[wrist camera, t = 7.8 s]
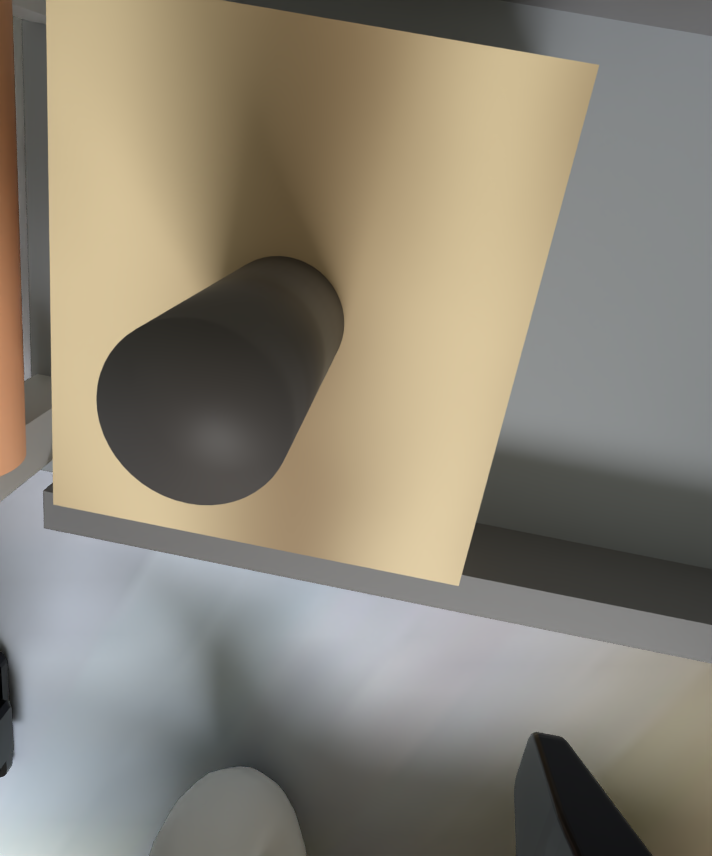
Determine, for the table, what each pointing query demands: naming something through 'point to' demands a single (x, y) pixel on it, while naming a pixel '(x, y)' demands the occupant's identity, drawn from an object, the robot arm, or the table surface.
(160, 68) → the beige block with peg
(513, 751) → the table surface
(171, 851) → the donut
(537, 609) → the tray
